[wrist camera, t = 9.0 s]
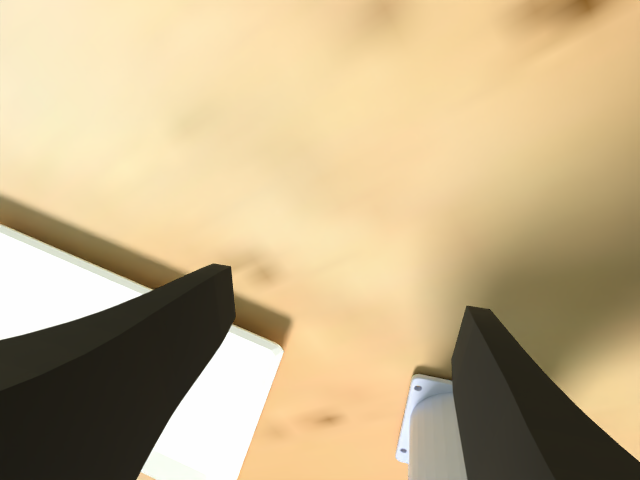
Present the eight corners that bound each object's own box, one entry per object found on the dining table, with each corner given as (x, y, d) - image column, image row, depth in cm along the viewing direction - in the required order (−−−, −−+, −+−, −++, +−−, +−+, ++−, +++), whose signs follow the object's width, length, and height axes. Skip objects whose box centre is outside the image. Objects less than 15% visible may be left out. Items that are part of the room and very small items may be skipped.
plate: (30, 397, 40) (12, 413, 38) (-7, 202, 28) (-37, 211, 26) (232, 492, 38) (223, 513, 37) (293, 330, 26) (283, 350, 24)
